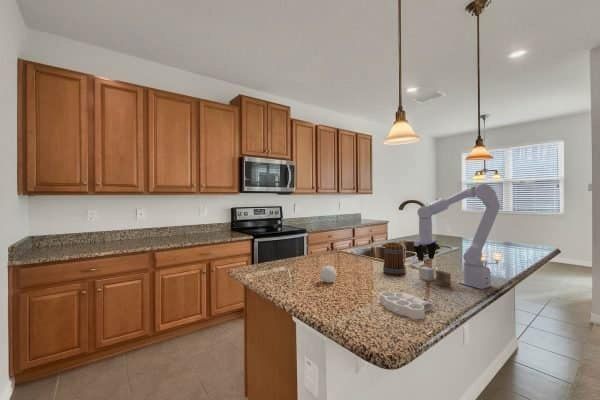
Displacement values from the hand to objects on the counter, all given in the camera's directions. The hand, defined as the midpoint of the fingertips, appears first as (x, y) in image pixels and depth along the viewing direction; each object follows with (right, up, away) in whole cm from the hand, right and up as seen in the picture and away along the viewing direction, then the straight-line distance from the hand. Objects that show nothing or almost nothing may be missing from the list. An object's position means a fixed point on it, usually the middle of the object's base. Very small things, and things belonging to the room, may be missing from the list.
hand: (426, 259), depth 129 cm
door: (+4, -8, -5) cm, 10 cm away
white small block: (0, -9, -2) cm, 9 cm away
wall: (+1, -9, -13) cm, 16 cm away
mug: (-11, -9, +11) cm, 18 cm away
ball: (-47, -10, -4) cm, 48 cm away
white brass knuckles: (-24, -10, -34) cm, 43 cm away
